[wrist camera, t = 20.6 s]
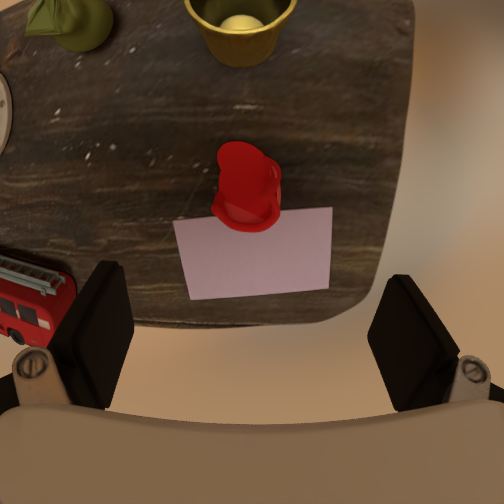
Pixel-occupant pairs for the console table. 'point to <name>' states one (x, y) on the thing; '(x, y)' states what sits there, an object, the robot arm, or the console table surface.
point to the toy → (32, 301)
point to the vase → (240, 27)
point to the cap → (247, 188)
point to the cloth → (256, 255)
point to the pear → (71, 22)
